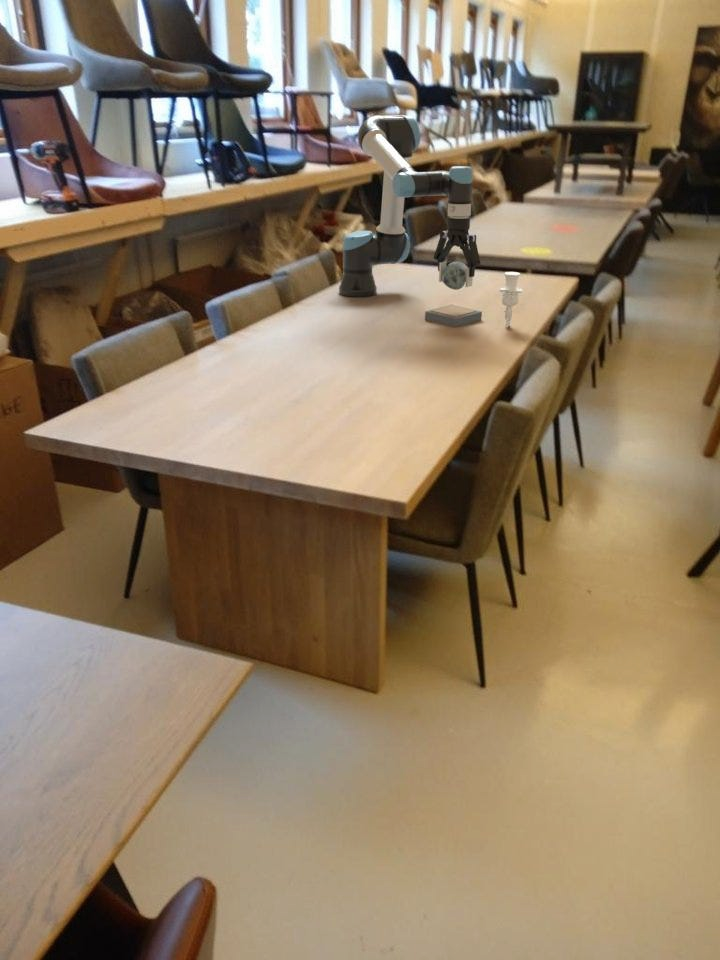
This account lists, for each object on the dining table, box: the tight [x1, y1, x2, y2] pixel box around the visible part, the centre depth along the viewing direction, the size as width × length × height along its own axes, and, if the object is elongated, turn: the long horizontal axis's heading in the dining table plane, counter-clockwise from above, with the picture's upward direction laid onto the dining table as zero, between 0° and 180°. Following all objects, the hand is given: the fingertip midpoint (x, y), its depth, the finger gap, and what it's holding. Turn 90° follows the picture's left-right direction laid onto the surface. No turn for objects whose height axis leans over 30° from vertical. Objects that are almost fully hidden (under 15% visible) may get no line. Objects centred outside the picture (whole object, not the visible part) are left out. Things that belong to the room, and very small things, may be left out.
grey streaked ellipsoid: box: [442, 261, 468, 291], centre depth 256 cm, size 14×10×10 cm
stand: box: [424, 304, 483, 328], centre depth 262 cm, size 14×14×3 cm
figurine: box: [498, 271, 523, 328], centre depth 250 cm, size 10×8×18 cm
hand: (455, 283), depth 257 cm, fingers closed on grey streaked ellipsoid, 11 cm apart
